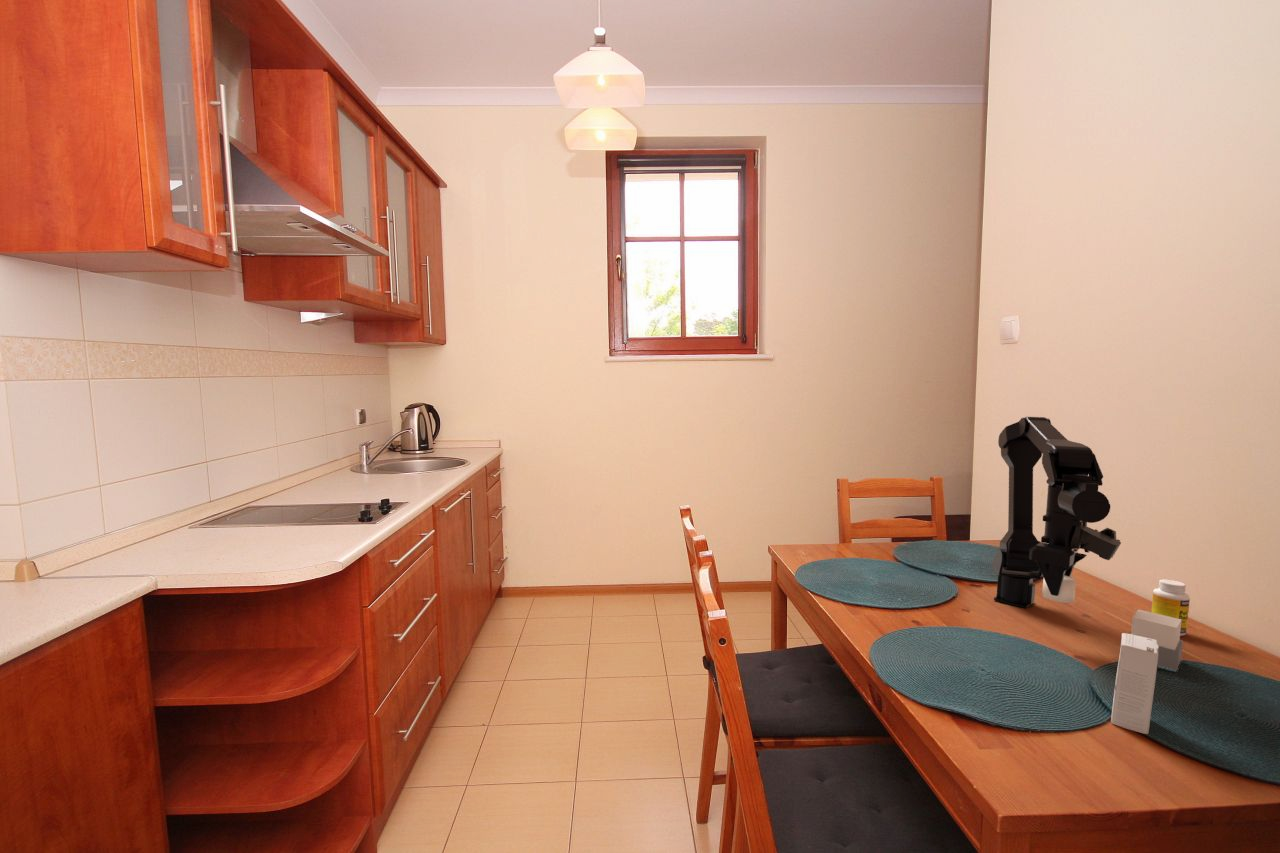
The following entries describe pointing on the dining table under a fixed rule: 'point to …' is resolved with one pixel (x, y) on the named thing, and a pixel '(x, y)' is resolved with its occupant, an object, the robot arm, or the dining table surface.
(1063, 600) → the white rounded cylinder
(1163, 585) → the supplement bottle
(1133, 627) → the tower top
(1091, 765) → the dining table surface
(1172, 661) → the tower base
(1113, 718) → the skincare box
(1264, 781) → the dining table surface
